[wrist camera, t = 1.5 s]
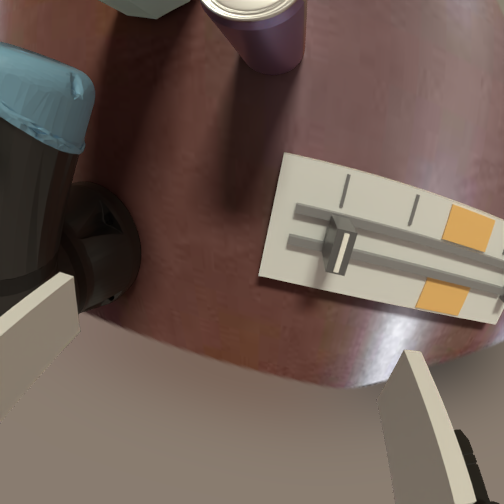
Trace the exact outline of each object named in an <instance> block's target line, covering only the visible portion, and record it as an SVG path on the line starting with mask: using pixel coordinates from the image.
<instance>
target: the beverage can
mask: <svg viewBox="0 0 504 504" xmlns="http://www.w3.org/2000/svg"><path fill="white" fill-rule="evenodd" d="M200 3H201V5H202V8H203V9H204V11H205V12H206V13H207V15H208V16H209V17H210V18H211V19H212V21H213V22H214V23H215V24H216V26H217V27H218V28H219V29H220V30H221V32H222V33H223V34H224V35H225V37H226V38H227V39H228V40H229V42H230V43H231V44H232V46H233V47H234V48H235V49H236V51H237V52H238V53H239V55H240V56H241V57H242V59H243V60H244V61H245V63H246V64H247V65H248V66H249V67H250V68H252V69H253V70H255V71H257V72H259V73H262V74H266V75H279V74H283V73H286V72H288V71H290V70H292V69H293V68H295V67H296V66H297V65H298V64H299V62H300V61H301V59H302V58H303V55H304V51H305V37H306V19H307V0H200Z"/></svg>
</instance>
